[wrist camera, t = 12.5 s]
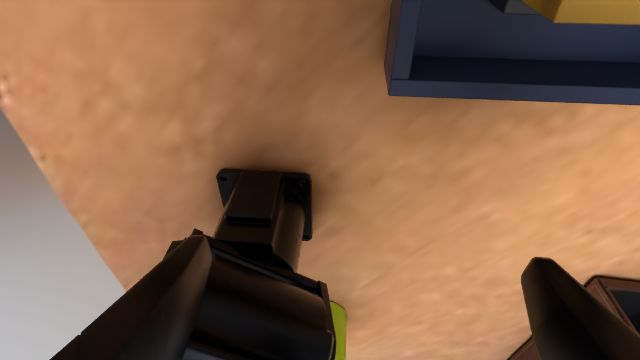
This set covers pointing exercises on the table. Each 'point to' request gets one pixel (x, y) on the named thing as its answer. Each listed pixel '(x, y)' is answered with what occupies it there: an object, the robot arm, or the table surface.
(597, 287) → the letter holder
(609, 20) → the duster
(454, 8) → the blue tray
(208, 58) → the table surface
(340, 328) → the soap dispenser
